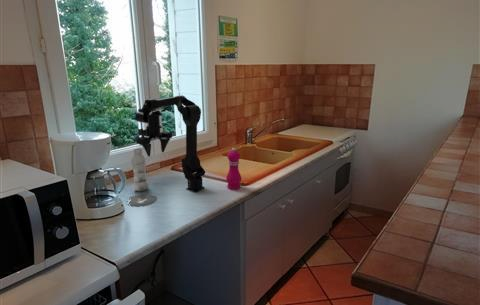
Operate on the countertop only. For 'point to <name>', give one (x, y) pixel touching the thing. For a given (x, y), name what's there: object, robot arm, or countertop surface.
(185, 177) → the robot arm
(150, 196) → the round gray disc
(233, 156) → the pepper mill
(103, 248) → the countertop surface
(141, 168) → the silver bottle
